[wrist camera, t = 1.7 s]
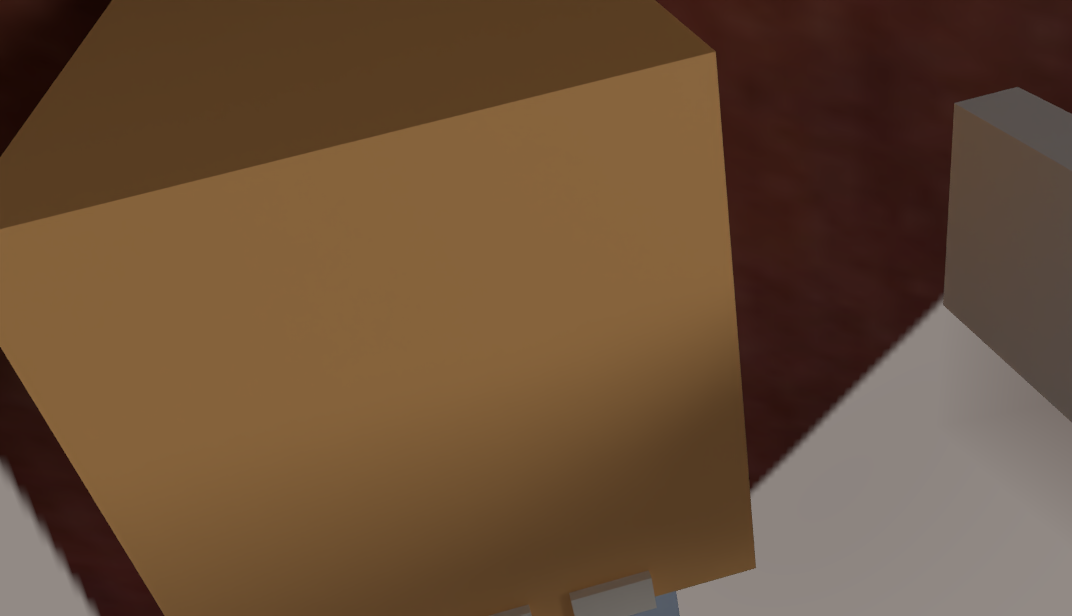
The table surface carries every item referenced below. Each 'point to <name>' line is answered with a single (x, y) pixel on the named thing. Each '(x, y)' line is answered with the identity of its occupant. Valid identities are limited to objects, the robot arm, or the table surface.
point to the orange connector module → (387, 303)
